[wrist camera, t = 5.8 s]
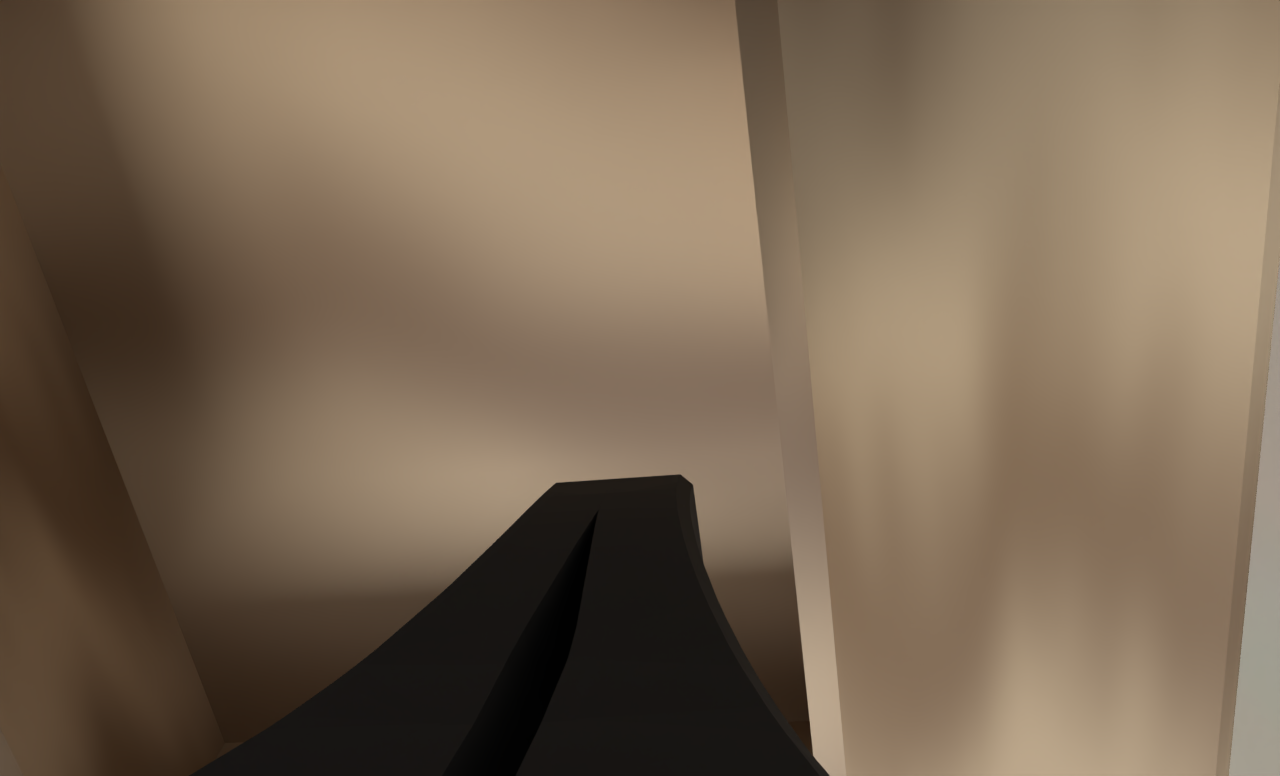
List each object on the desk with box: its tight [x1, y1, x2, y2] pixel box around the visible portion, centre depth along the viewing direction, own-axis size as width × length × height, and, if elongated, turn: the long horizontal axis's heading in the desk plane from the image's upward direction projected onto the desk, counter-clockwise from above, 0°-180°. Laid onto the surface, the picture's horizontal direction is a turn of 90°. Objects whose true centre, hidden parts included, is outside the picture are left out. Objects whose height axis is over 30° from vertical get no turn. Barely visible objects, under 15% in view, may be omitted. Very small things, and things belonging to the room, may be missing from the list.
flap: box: [777, 0, 1280, 776], centre depth 10 cm, size 15×1×4 cm
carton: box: [0, 0, 846, 776], centre depth 15 cm, size 17×12×4 cm
